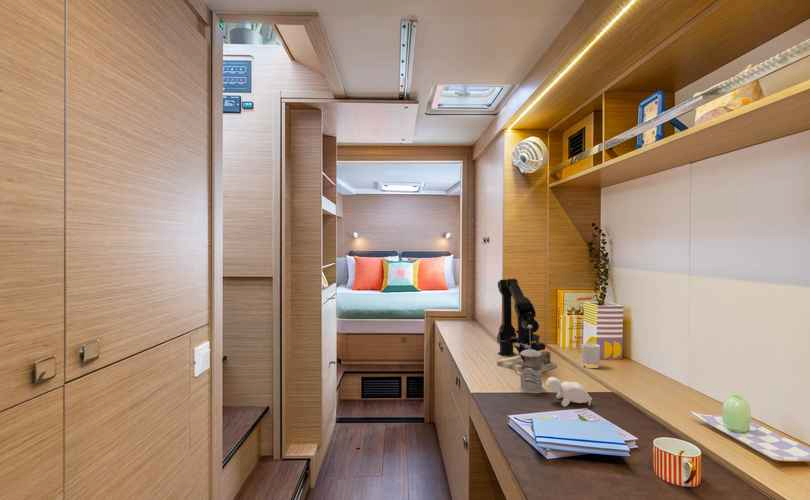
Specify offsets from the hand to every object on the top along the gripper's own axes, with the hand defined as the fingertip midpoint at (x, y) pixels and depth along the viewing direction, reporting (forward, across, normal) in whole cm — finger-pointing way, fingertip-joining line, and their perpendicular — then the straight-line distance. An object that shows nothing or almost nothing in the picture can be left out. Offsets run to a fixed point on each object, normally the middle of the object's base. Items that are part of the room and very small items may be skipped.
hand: (524, 362), depth 180 cm
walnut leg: (0, -4, -5) cm, 6 cm away
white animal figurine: (+3, -36, +21) cm, 42 cm away
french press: (+3, -19, +20) cm, 28 cm away
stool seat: (+3, +2, -4) cm, 5 cm away
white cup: (+3, -17, -26) cm, 31 cm away
